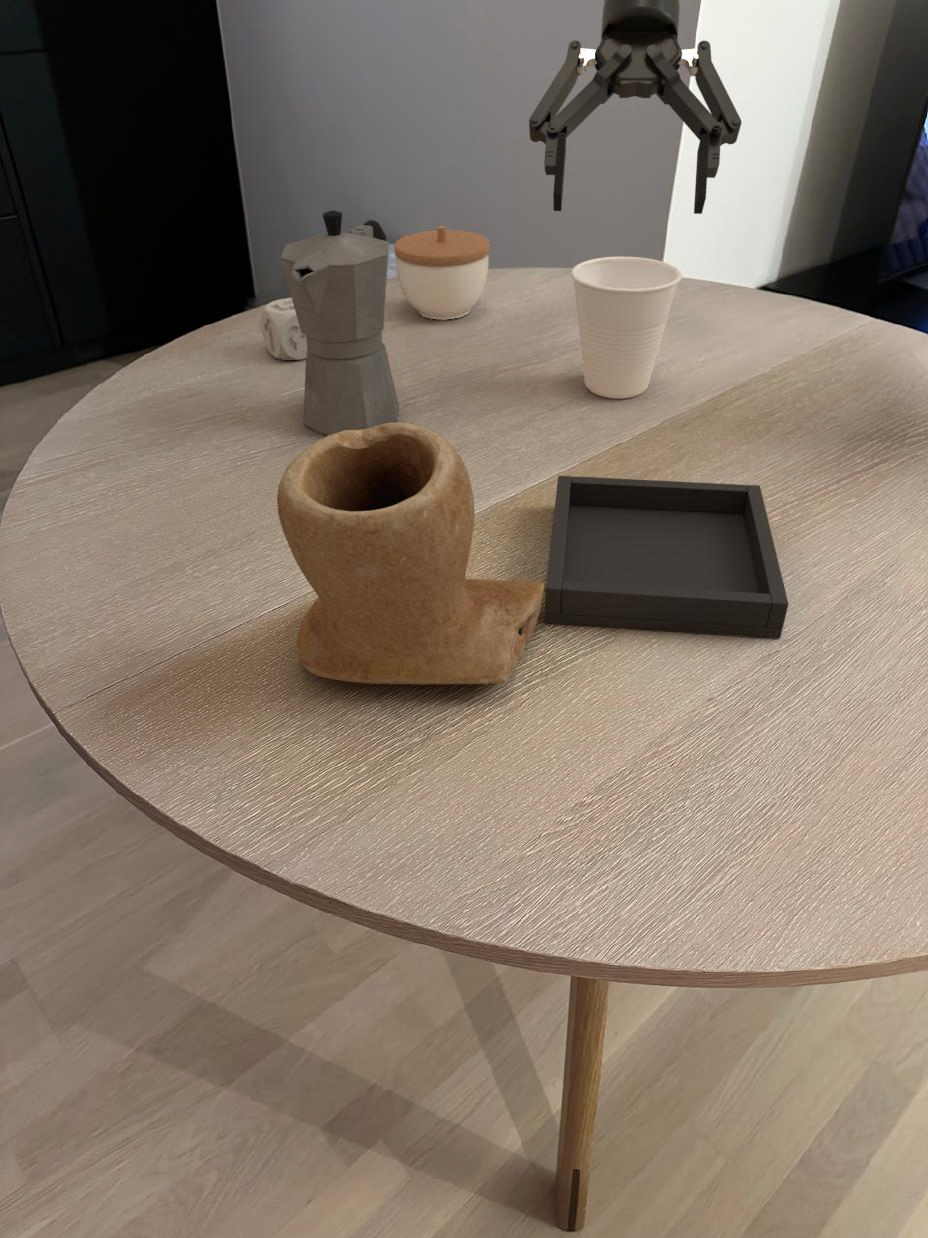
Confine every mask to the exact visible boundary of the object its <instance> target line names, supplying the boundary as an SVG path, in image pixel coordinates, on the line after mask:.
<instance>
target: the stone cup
mask: <svg viewBox="0 0 928 1238" xmlns="http://www.w3.org/2000/svg"><path fill="white" fill-rule="evenodd" d="M276 496H277V497H276V502H277V504H276V505H277V515H278V518H279V522H280V525H281V530H282V532H283V535H284V537H285V539H286V540H285V541H286V542H287V544H288V547H289V549H290V552H291V553H292V555H293V556H292V557H293V558H294V560H295V563H296V564H297V566H298V568H299V569H300V571H301V573H302V574H303V576H304V577H305V579H306V581H307V582H308V584H309V585H310V587H311V588H312V589H313V591H314V592H315V594H316V595H317V596H318V597H317V599H316V600H315V601H314V602H313V604H311V606H310V607H309V609H308V610H307V612H306V613H305V615H304V617H303V619H302V621H301V623H300V626H299V631H298V634H297V641H296V651H297V652H298V653H299V654H300V661H301V663H302V666H303V667H304V668H305V669H306V670H307V671H308V672H310V673H311V674H313V675H315V676H318V677H320V678H325V679H329V680H336V681H342V682H347V683H355V684H356V683H357V684H370V685H371V684H372V685H379V684H380V685H493V684H494V685H495V684H504V683H506V682H507V681H509V677H510V676H511V675H512V674H513V673H514V672H515V671H516V670H517V666H518V664H519V661H520V659H521V658H522V657H523V655H524V653H525V646H526V645H527V644H528V643H529V641H530V639H531V637H532V636H533V634H534V632H535V630H536V627H537V624H538V623H537V622H538V618H539V616H540V612H541V609H542V603H543V599H544V596H545V593H546V584H545V583H544V582H543V581H541V580H508V579H507V580H505V579H504V580H503V579H489V578H487V579H486V578H466V574H467V568H468V564H469V559H470V554H471V553H470V552H471V546H472V541H473V534H474V527H475V526H474V525H475V518H476V517H475V515H476V513H475V501H474V493H473V486H472V482H471V479H470V475H469V472H468V469H467V466H466V464H465V462H464V460H463V458H462V456H461V455H460V454H459V453H458V451H457V450H456V449H455V448H454V446H453V445H452V444H451V443H450V442H449V440H447V439H446V438H445V437H444V436H442V434H441V435H440V434H439V433H437V432H434V431H433V430H431V429H429V428H426V427H424V426H420V425H417V424H413V423H408V422H395V423H386V424H381V425H378V426H374V427H372V428H368V429H362V430H345V431H341V432H338V433H335V434H332V435H328V436H327V435H325V436H324V437H323V438H321V439H318V440H316V441H315V442H314V443H312V444H311V445H309V446H308V447H306V448H305V449H304V450H303V451H302V452H300V453H299V454H298V455H297V456H295V458H293V460H291V462H290V463H289V464H288V465H287V466H286V468H285V471H284V472H283V475H282V477H281V479H280V482H279V484H278V489H277V494H276Z"/></svg>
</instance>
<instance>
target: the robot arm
mask: <svg viewBox="0 0 928 1238" xmlns="http://www.w3.org/2000/svg"><path fill="white" fill-rule="evenodd" d="M680 8H681V5H680V0H603V8H602V18H601V33H600V43H599V45H598V46H597V47H596V49H594V48H584V47H582V44H581V42H580V41H579V40H572V41H570V42H569V44H568V48H567V53H566V57H565V60H564V63H563V64H562V66H561V68H560V69H559V71H558V72H557V74H556V75H555V77H554V79H553V80H552V82H551V84H550V85H549V87H548V89H547V90H546V92H545V93H544V95H543V96H542V98H541V100H540V101H539V102H538V104H537V105H536V106H535V107H536V108H535V109H534V111H533V112H532V114H531V115H530V117H529V119H528V123H529V124H528V129H529V139H530V141H531V142H534V143H538V142H542V143H543V144H544V145H545V148H544V149H545V151H544V161H543V162H544V173H545V175H546V176H554V179H553V180H554V181H553V196H552V198H553V199H552V201H553V202H552V203H553V212H562V205H563V195H564V194H563V193H564V182H565V181H564V180H565V170H566V169H565V168H566V155H567V138H568V137H569V136H570V135H571V134H572V133H573V132H574V131H575V130H576V129H577V128H578V127H579V126H580V125H581V124H582V123H583V122H584V121H585V120H586V119H587V118H588V117H589V116H590V115H591V114H592V113H593V112H594V111H595V110H596V109H597V108H598V107H600V105H604V104H606V103H607V102H608V101H609V99H611V98H612V96H613V95H614V94H615V95H617V96H618V98H619V99H628V98H629V99H630V98H634V97H636V98H641V99H652V96H654V95H656V96H657V97H658V99H659V100H660V101H661V102H662V103H663V104H664V105H665V106H666V105H668V106H669V107H670V108H671V109H672V110H673V112H674V113H675V114H676V115H677V116H678V117H679V118H680V120H681V121H682V122H683V123H684V124H685V126H687V128H688V129H689V130H690V131H691V132H692V133H693V135H694V136H695V137H696V138H697V139H698V141H699V142H698V143H699V144H698V147H697V153H696V154H697V155H696V171H695V184H694V185H695V188H694V202H693V203H694V206H693V214H694V215H701V214H703V212H704V211H703V210H704V207H705V202H706V199H707V189H708V188H707V185H708V179H709V178H710V179H715V178H716V176H717V174H718V171H719V167H720V161H721V159H720V158H721V146H722V145H725V144H727V145H734V144H735V143H736V142H737V140H738V137H739V134H740V130H741V127H742V119H741V117H740V115H739V113H738V111H737V108H736V107H735V105H734V103H733V101H732V99H731V97H730V95H729V93H728V91H727V89H726V87H725V85H724V83H723V81H722V79H721V77H720V75H719V73H718V71H717V68H716V67H715V65H714V63H713V61H712V51H711V48H712V47H711V43H710V42H709V41H707V40H700V42H698V44H697V48H696V47H695V48H687V49H686V48H685V49H682V48H681V46H680V44H679V27H680V25H679V24H680V10H681V9H680ZM591 66H594V68H595V71H596V72H595V74H594V76H593V78H592V79H591V81H590V82H589V83H588V84H586V86H584V88H583V89H582V90H580V91H579V92H578V94H577V95H576V96H575V97H573V98H572V99H571V100H570V101H569V102H568V104H567V105H565V107H563V108H562V106H563V105H564V103H565V101H566V100H567V98H568V97H569V95H570V94H571V92H572V90H573V89H574V87H575V85H576V83H577V81H578V78H579V77H582V76H584V74H585V72H587V70H588V68H589V67H591ZM682 66H683V67H685V68H686V69H687V72H688V73H689V76H690V77H694V78H695V82H696V85H697V88H698V90H699V92H700V95H701V96H702V99H703V100H704V102H705V104H706V106H707V108H706V106H705V105H704V104H703V103H702V102H701V100H700V99H698V97H697V96H696V95H695V94H694V93H693V91H692V90H691V89H690V88H689V87H688V86H687V84H686V83H685V82H684V81H683V80H682V78H681V74H680V73H679V69H680V67H682ZM561 108H562V109H561ZM560 109H561V110H560Z"/></svg>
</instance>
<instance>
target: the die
mask: <svg viewBox="0 0 928 1238" xmlns="http://www.w3.org/2000/svg"><path fill="white" fill-rule="evenodd" d="M260 328H261V334H262V338H263V341H264V343H265V346H266V348H267V351H268V352H269V353H270V355H271V356H272V355H273V356H272V357H273V358H275V359H277V358H278V359H277V360H280V359H282V360H281V361H285V360H297V361H302V360H306V353H307V341H306V335H305V334H303V333H301V330H300V326H299V323H298V319H297V315H296V312H295V308H294V304H293V301H292V297H287V298H280V299H276V300H273V301H271V302H269V303H267V304H266V305H265V307H264V308H263V309H262V311H261V314H260Z"/></svg>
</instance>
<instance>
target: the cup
mask: <svg viewBox="0 0 928 1238" xmlns="http://www.w3.org/2000/svg"><path fill="white" fill-rule="evenodd" d="M570 276H571V278H572V279H573V282H574V283H573V284H574V292H575V293H574V294H575V303H576V312H577V320H578V331H579V341H580V351H581V359H582V370H583V371H582V372H583V381H584V382H583V383H584V385H585V387H586V388H587V389H588V391H590V392H591V393H593V395H596V396H599V397H602V398H606V399H607V398H608V399H614V400H616V399H622V400H623V399H630V398H634V397H637V396H639V395H641V394H642V393H643V392H645V391H646V390H647V389H648V388H649V384H650V381H651V378H652V375H653V370H654V367H655V363H656V359H657V356H658V352H659V349H660V346H661V342H662V339H663V335H664V331H665V329H666V325H667V321H668V317H669V314H670V311H671V307H672V303H673V300H674V296H675V294H676V290H677V287H678V286H677V285H678V284H679V282H681V280H682V277H683V274H682V272H681V271H680V270H679V269H678V267H676V266H674V265H672V264H670V263H668V262H665V261H662V260H657V259H653V258H649V257H648V258H647V257H639V256H605V257H598V258H592V259H589V260H588V259H587V260H586V261H582V262H581V263H578V264H576V265H575V266H573V268H572V269H571V271H570Z"/></svg>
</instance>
